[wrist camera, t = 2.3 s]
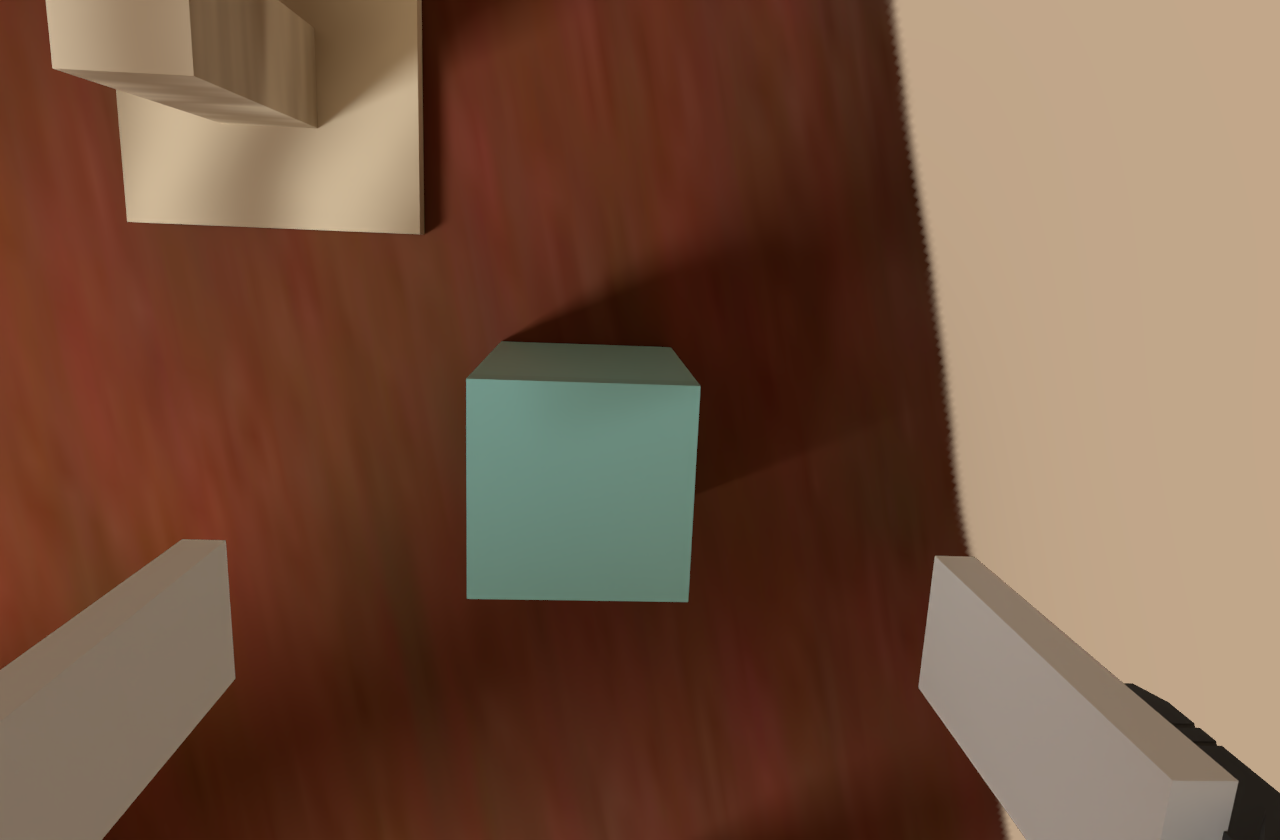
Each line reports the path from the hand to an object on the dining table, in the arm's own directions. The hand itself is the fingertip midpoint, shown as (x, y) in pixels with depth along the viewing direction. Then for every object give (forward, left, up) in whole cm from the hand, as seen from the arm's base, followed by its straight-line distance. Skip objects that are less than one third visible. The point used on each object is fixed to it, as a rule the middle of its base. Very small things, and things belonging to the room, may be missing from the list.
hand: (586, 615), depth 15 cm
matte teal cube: (0, 0, -17) cm, 17 cm away
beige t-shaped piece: (-11, +12, -17) cm, 23 cm away
